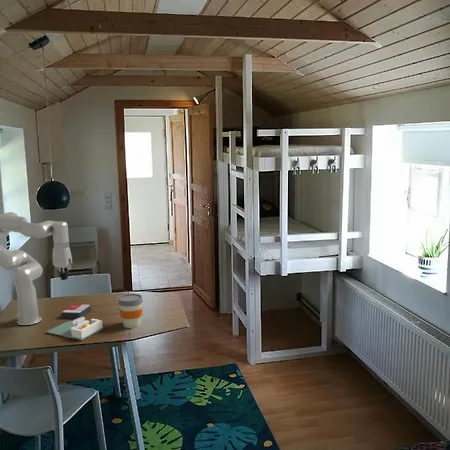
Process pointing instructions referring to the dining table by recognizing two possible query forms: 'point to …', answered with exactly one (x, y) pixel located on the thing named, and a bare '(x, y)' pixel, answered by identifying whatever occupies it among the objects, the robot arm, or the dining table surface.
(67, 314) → the calculator
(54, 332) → the pitch
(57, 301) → the dining table surface
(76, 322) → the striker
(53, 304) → the dining table surface
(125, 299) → the reusable coffee cup
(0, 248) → the robot arm
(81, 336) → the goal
